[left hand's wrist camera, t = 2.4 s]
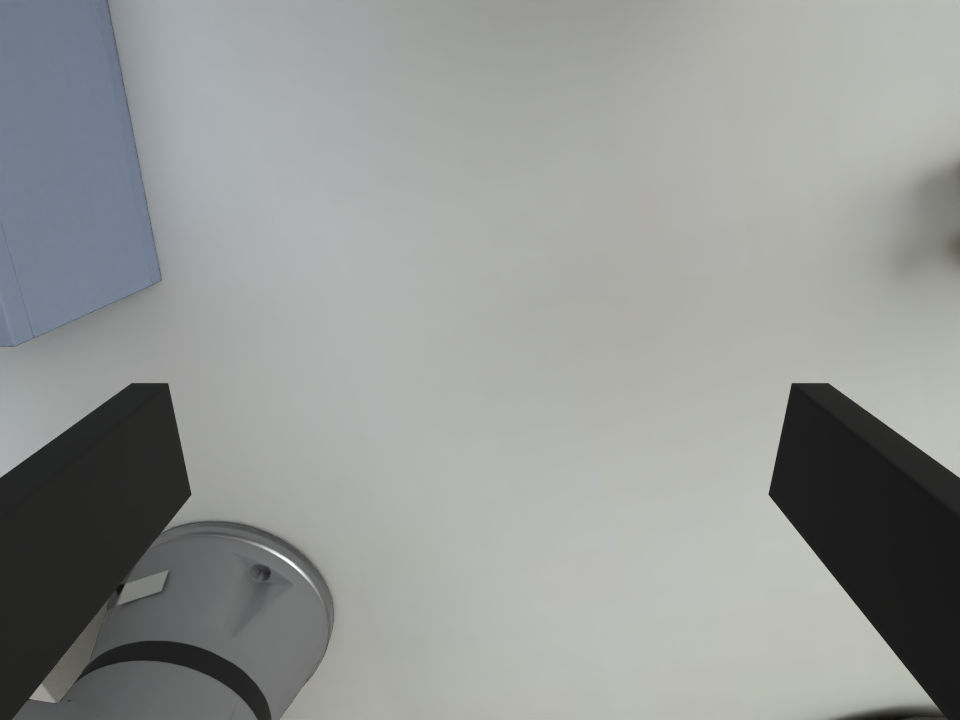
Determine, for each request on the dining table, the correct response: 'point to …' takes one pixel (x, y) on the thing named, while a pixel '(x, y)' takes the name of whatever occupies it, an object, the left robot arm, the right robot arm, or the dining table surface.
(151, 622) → the right robot arm
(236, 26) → the dining table surface
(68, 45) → the cabinet
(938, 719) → the hat
